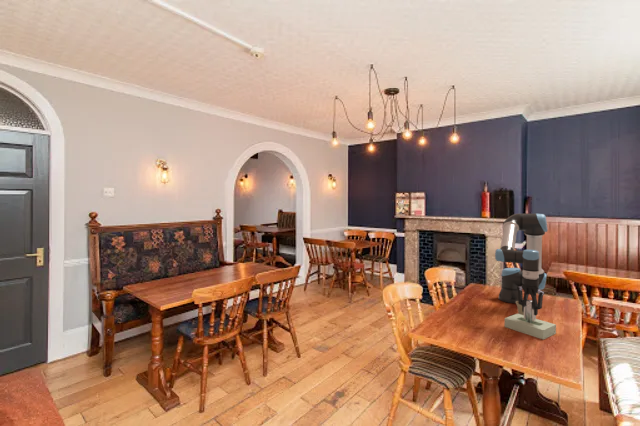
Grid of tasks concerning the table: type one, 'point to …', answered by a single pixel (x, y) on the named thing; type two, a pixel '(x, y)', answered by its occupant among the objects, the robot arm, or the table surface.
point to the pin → (529, 311)
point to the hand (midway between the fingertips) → (529, 319)
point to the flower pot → (519, 308)
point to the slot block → (530, 326)
